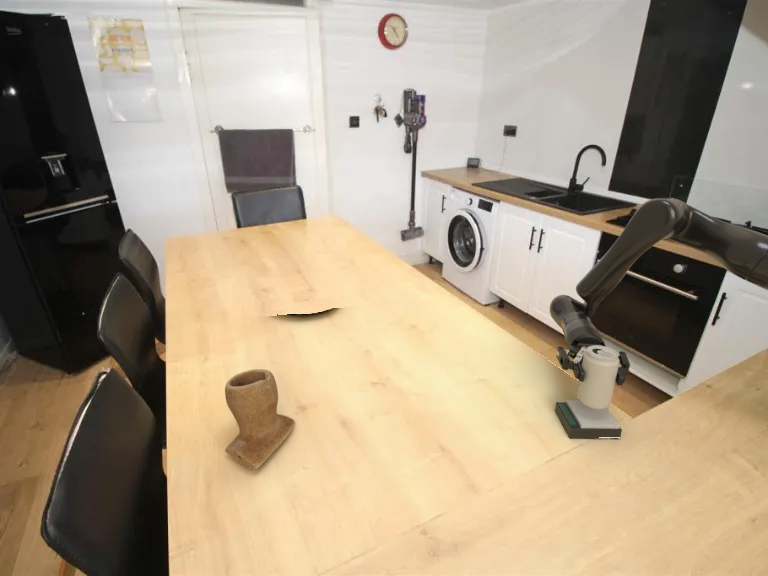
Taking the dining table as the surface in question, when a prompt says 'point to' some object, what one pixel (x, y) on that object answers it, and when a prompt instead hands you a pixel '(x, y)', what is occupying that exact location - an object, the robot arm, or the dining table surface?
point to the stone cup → (255, 417)
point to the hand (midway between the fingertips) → (601, 379)
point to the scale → (586, 421)
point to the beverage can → (598, 377)
